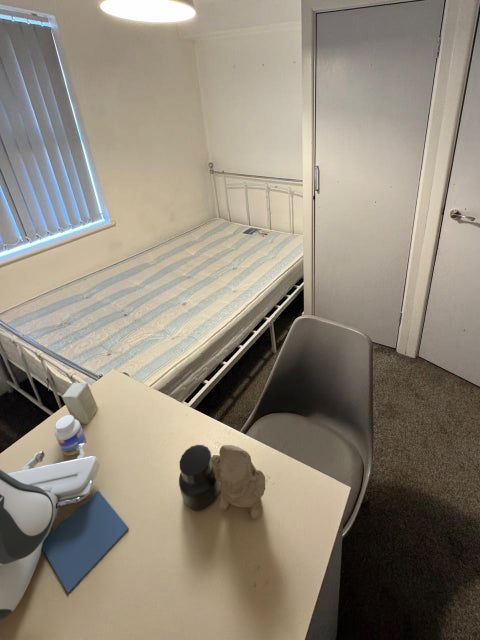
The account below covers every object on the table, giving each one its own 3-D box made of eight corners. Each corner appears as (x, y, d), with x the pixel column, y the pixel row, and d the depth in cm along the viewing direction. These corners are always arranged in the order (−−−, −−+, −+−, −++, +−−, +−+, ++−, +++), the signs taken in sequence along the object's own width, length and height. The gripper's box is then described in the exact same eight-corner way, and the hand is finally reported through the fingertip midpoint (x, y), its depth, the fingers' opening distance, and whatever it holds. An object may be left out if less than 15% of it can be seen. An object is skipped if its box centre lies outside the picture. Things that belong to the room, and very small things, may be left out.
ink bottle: (214, 462, 82) (208, 431, 77) (229, 493, 76) (223, 462, 71) (176, 487, 77) (167, 456, 72) (188, 523, 71) (179, 491, 66)
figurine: (209, 512, 72) (196, 458, 64) (225, 479, 79) (216, 425, 70) (260, 535, 69) (254, 480, 60) (273, 498, 75) (269, 443, 67)
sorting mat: (40, 545, 67) (39, 544, 67) (98, 491, 76) (98, 490, 76) (68, 593, 61) (67, 593, 61) (129, 529, 70) (128, 528, 70)
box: (85, 407, 97) (74, 381, 92) (98, 408, 97) (88, 381, 92) (73, 424, 92) (60, 397, 87) (87, 424, 92) (76, 397, 87)
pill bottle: (60, 458, 83) (47, 434, 79) (67, 439, 88) (56, 415, 84) (83, 453, 85) (72, 428, 81) (89, 434, 89) (79, 410, 85)
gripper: (83, 492, 69) (103, 431, 81) (-29, 517, 65) (10, 449, 77) (91, 508, 71) (110, 447, 84) (-16, 533, 67) (20, 465, 80)
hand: (61, 448), depth 80 cm, fingers open, 8 cm apart
